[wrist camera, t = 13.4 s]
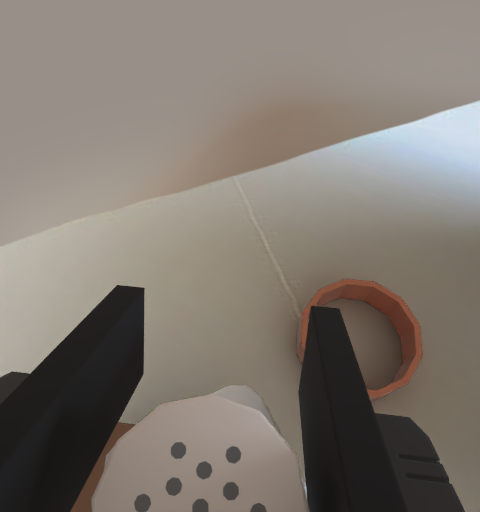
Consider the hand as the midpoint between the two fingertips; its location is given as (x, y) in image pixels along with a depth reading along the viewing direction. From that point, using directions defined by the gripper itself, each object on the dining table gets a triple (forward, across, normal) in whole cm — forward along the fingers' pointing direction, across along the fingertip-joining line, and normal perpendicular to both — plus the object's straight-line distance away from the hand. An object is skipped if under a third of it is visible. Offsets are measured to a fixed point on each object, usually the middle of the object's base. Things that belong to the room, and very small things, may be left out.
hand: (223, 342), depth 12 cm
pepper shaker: (+1, 0, -6) cm, 6 cm away
